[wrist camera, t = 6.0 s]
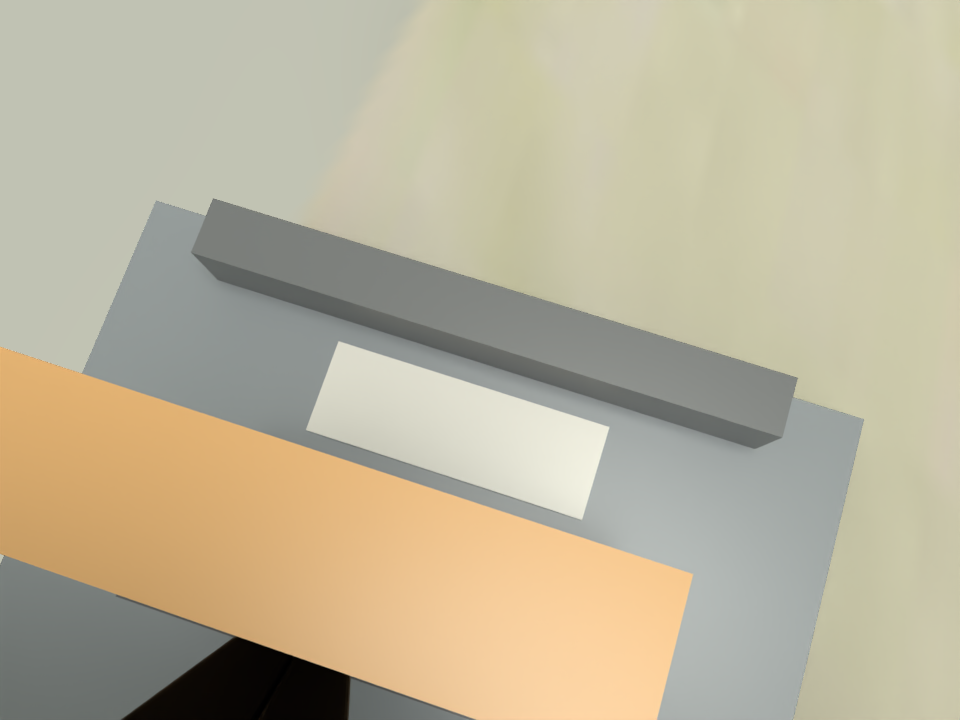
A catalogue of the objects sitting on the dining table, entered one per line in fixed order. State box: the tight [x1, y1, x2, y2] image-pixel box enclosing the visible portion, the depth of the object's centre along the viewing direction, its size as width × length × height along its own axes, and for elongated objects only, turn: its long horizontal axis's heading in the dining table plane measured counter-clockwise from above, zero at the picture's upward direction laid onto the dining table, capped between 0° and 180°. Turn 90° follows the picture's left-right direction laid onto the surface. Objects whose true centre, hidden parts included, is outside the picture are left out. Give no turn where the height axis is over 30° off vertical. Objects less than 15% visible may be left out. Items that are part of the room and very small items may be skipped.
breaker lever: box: [0, 347, 693, 720], centre depth 10 cm, size 2×7×7 cm, turn 72°
